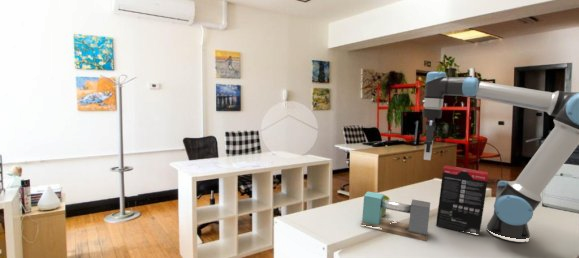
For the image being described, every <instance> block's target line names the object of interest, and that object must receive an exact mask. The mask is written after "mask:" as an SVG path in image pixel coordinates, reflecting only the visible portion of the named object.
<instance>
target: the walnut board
mask: <svg viewBox="0 0 579 258" xmlns="http://www.w3.org/2000/svg"><path fill="white" fill-rule="evenodd" d="M394 221H395V220H390V219H385V218H381V221H380V223H379V225H374V224H369V223H365V222H362V221H361V223H360V226H361V225H366V226H372V227H380V228H382V231H381V232H384V233H389V234H392V235H398V236H402V237H405V238H410V239H411V238H412V239H414V240H420V241H424V242H427V239H428V235H427V236H424V235H420V234H415V233H411V232H408V230H409V223H404V222H400V221H396V222H397V223H392V222H394ZM390 223H391V224H390Z"/></svg>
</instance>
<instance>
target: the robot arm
mask: <svg viewBox="0 0 579 258" xmlns="http://www.w3.org/2000/svg"><path fill="white" fill-rule="evenodd" d="M424 87H425V88H424V97H423V100H422V101H421V102H422V103H423V108H422V117H423V118H428V120H427V121H425V131H426V134H425V141H423V143H422V144H423V145H424V150H423V160H425V161H431V159H432V153H433V152H432V151H433V143H434V141H435V140H436V139H435V137H434V132H435V130H436V126H437V121H436V119H441V118H442V116H443V114H442V113H443V110H442V109H443V107H444V96H454V97H455V96H458V97H460V96H461V97H464V98H465V97H467V98H470V99H471V98H472V99H477V100H482V101H483V100H484V101H489V102H493V103H499V104H502V105H503V104H504V105H509V106H515V107H519V108H526V109H530V110H534V111H535V110H536V111H541V112H545V113H547V114H548V115H549V116H552V117H554V118H553V123H554V128H553V129H552V130H551V131H550V133H549V134H548V135H547V136H546V138H545V139H544V141H543V142H542V144H540V147H539V148H538V149H537V151H536V152H535V153H534V155H533V156H532V157H531V159H529V161H528V163H527V164H526V165H525V167H524V168H523V170H521V172H520V173H519V174H518V176H517V177H516V179H515V180H512V181H509V180H499V181H498V182H497V185H496V193H495V194H496V195H495V199H494V204H493V208H494V209H493V213H492V214H493V215H492V216H491V218H490V219H489V221H488V223H487V225H486V230H487V229H488V230H489V231H491V232H493V233H495V234H498V235H501V236H505V237H510V238H516V239H526V238H529V237H530V238H531V234H530V228H529V225H528V223H529V222H530V221H531V219H532V218H533V216H534V211H535V210H536V209H537V208H538V206H539V204H541V202H542V201H543V199H542V196H541V194H542V193H543V191H545V189H546V188H547V186H548V185H549V184H550V182H551V181H552V180H553V178H554V177H555V176H556V175H557V173H558V172H559V171H560V169H561V168H562V167H563V166H564V164H565V163H566V162H567V161H568V159H569V158H570V156H571V155H572V154H573V152H575V150H576V149H577V148H578V146H579V91H576V92H574V91H573V92H572V91H561V90H556V91H554V92H551V91H544V90H537V89H534V88H533V89H531V88H525V87H521V86H520V87H518V86H512V85H506V84H501V83H493V82H488V81H487V82H486V81H481V80H479V79H478V78H477V77H471V76H464V77H463V76H460V77H459V76H457V77H456V76H453V77H452V76H451V77H450V76H447V73H446V72H444V71H429V72H427V74H426V79H425V85H424Z"/></svg>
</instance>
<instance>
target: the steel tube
mask: <svg viewBox="0 0 579 258" xmlns="http://www.w3.org/2000/svg"><path fill="white" fill-rule="evenodd" d="M381 208H384V209H386V210H390V211H393V212H394V211H396V212H401V213H405V214H410V210H411V204H407V203H401V202H396V201H390V200H389V201H386V200H381Z"/></svg>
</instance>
